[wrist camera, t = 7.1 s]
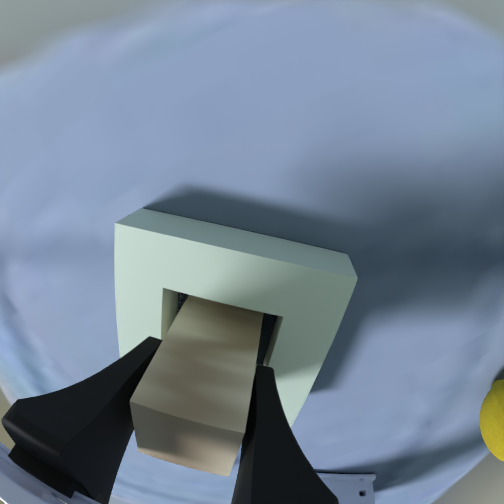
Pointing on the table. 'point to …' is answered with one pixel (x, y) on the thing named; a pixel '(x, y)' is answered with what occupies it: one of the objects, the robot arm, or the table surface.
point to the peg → (199, 387)
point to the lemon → (493, 419)
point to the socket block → (233, 289)
